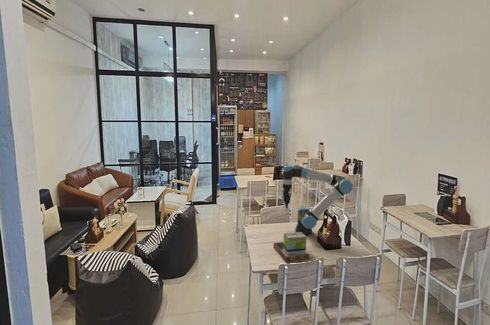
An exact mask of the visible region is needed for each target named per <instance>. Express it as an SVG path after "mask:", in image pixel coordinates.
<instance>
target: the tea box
mask: <svg viewBox="0 0 490 325" xmlns="http://www.w3.org/2000/svg"><path fill="white" fill-rule="evenodd" d="M307 237H308V236H307V235H304V234H303V233H302V232H295V231H293V232H284V233H283V241H282V242H283V247H282V251H283V253H284V254H285V255H286V256H295V255H303V254H306V250H307Z"/></svg>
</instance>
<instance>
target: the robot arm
mask: <svg viewBox="0 0 490 325" xmlns="http://www.w3.org/2000/svg"><path fill="white" fill-rule="evenodd" d="M282 171H283V173H282V200H283V203H284V204H283V205H284V208H283V210H284V212H288V211H289V204H291V203H290V202H291V197H292V193H291V190H292V188H293V185H292V184H293V178H309V179H312V180H315V181H320V182H323V183H326V184H328V185H329V186H331V190H330V191H329V192H328V193H327V194H326V195H325V196H324V197H323V198H321V200H319V201H318V202H317V204H315V206H314V207H309V206H308V207H307V206H300V207H298V208H297V223H296V226H295V228H294V232H302V233H303V234H304V235H305V236H310V235H311V234H312V233H313V228H315V227H316V226H317V223H318V221H319V220H320V216H322V214H324V213H325V212H326V211H327V210H328V209H329V208H330V207H331V206H332V205H333V204H334V203H335V202H336V201H337V200H338V199H339V198H340V197H341V198H342V197H344V196H345V195H348V194H350V193H351V192H352V191H353V189H354V188H353V186H354V185H353V183H352V181H351V180H350V179H348V178H346V177H344V176H341V175H336V174H332V173H331V174H329V173H328V174H327V173H324V172H321V171H318V170H314V169H310V168H307V167H303V166H300V165H298V164H295V165H288V164H287V165H284V166H283V170H282Z"/></svg>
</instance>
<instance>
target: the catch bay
mask: <svg viewBox="0 0 490 325" xmlns="http://www.w3.org/2000/svg"><path fill="white" fill-rule="evenodd" d="M282 248H283V241H280V242H273V249H274V250H275V251H276V253H277V254H278V255H279V256H280V257H281V258H282V260H283V261H284V262H285V263H293V262H301V261H309V260H310V254H309V253H305V254H303V255H291V256H287V255H286V254H285V252H284V251H283V249H282Z"/></svg>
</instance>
